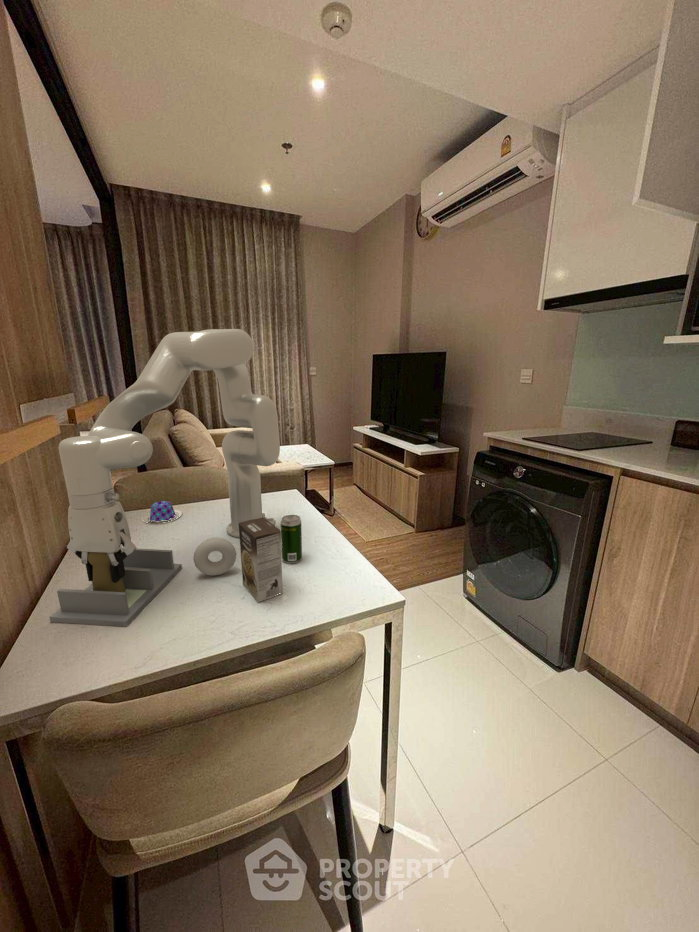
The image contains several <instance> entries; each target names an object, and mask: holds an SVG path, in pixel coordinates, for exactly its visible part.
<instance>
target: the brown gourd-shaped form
mask: <svg viewBox="0 0 699 932" xmlns="http://www.w3.org/2000/svg"><path fill="white" fill-rule="evenodd" d="M115 554H116V556H117V552H116V553H115ZM88 561H89V563H90V564H91V565H93V591H108V592H125V591H126V589H125V585H124V583H123V580H122V578H121V579H120V580H119V581H118V582H116V583H114V582H112V577H111V571H110V566H111V565H112V563H111V560H110V558H109V556H108V553H101V552H89V553H88Z"/></svg>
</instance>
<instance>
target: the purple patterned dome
mask: <svg viewBox="0 0 699 932" xmlns="http://www.w3.org/2000/svg"><path fill="white" fill-rule="evenodd" d="M172 504H173V503H171V502H170V501H168V500H160V501H156V502H154V503H152V504H151V506H150V518H149V521H150V520H155V521H161V520H169V519H170V518H173V519H174V517H176V516H174V515H176V514H175V512H178V513H179V517H177V518H176V519H174V520H172V519H170V520H171V521H168V522H172V521H175V520H177V519H179V518H180V517H181V516H183V515H182V514H183V513H182V512H183V511H181V510H178V509H174V507H173V505H172ZM155 521H154V522H155ZM142 522H144V523H147V524H149V523H148V522H145V521H144V520H143V519H142ZM162 522H163V521H162ZM168 522H167V523H168ZM164 523H166V522H163V523H162V524H164Z"/></svg>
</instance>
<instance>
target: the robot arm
mask: <svg viewBox="0 0 699 932" xmlns="http://www.w3.org/2000/svg"><path fill="white" fill-rule="evenodd" d="M253 342H254V341H253V339H252V337H251V336H250V334H249V333H247V332H246V331H245V330H243V329H241V328H225V329H224V328H223V329H221V328H218V329H217V328H214V329H210V328H209V329H204V330H203V329H202V330H199V331H177V332H176V331H174V332H171V333H168V334H167V335H164V336H163V338H162V339H161V341H160V342H159V343H158V345H157V346H156V348H155V350H154V352H153V353H152V355H151V357H150V358H149V360H148V361H147V363H146V364H145V366H144V368H143V370H142V371H141V373H140V375H139V376H138V378H137V380H136V381H135V382H133V384H132V385H130V386H129V387H128V388H126V389H125V390H123V392H121V393H120V394H119V395H118V396H116V397H115V398H114V399H112V401H110V402H109V403H108V404H107V405H106V407H105V408H104V409H103V410H102V412H100V414H99V416H98V417H97V418H96V420H95V422H94V424H93V425H92V427H91V429H90V430H89V433H88V434H87V435H79V436H72V437H67V438H64V439H62V440H61V441H60V442H59V444H58V452H59V457H60V458H59V459H60V463H61V467H62V471H63V478H64V482H65V487H66V492H67V496H68V497H67V498H68V502H69V506H68V509H67V510H68V511H67V525H68V532H69V533H68V534H69V538H70V539H69V542H68V544H67V545H66V549H68V550H69V551H70V552H72V553H73V554H75V556H76V557H78V558H79V559H80V560H81V564H82V565H85V569H86V573H87V578H88V582H92V581H93V565H91V564H90V563H89V561H88V553H89V552H101V553H108V556H109V558H110V560H111V563H112V565H111V566H110V571H111V577H112V582H114V583H116V582H118V581H119V580H120V579H121V578H122V577H124V576H125V568H124V562H123V560H124V559H125V558H126V557H127V556H128V555H129V554H130V553H132V552H133V551H134V550H136V548H137V546H136V544H135V543H134V542H133V541H132V538H131V537H132V535H131V531H130V527H129V523H128V519H127V517H126V516H127V515H126V513H125V510H124V508H123V506H122V504H121V502H120V501H118V500H119V499H120V494H119V493H116V492H115V489H114V485H113V484H114V483H113V479H112V473H111V471H112V470H120V469H131V468H136V467H140V466H141V465H144V464H145V463H147V462H148V461H149V460H150V458H151V457H152V455H153V450H154V448H153V443H152V442H151V440H150V439H149V438H148V437H147V436H146V435H144V434H142V433H139V432H137V431H132V429H133V428H134V426H135V425H136V424H137V423H138V422H140V421H141V420H142V419H143V418H145V417H147V416H148V415H150V414H153V413H156V412H157V411H161V410H163V409H165V408H166V407H169V406H171V405H172V404H174V403H175V401H176V400H177V398H178V396H179V394H180V392H181V391H182V388H183V387H184V385H185V383H186V382H187V379H188V378H189V376H190V374H191V372H193V371H213V372H214V374H215V376H216V378H217V380H218V381H217V382H218V386H219V393H220V400H221V401H220V403H221V409H222V415H223V418H224V420H225V422H226V423H227V425H230V426H232V427H233V426H234V427H237V428H247V429H252V431H250V430H244V429H242V430H240V429H237V430H232V431H230V432H228V433H226V434H225V435H224V437H223V439H222V443H221V449H222V455H223V459H224V462H225V466H226V471H227V472H226V473H227V481H228V483H227V484H228V497H229V498H228V499H229V511H230V523H229V524H228V525H227V526H226V533H227V534H228V535H229V536H232V537H234V538H239V539H240V536H239V524H238V523H240V522H244V521H248V520H252V519H258V518H262V517H264V518H265V519H266V520H268V521H269V522H270V523H272V524H273V525H274V526H276V525H277V522H276V520H275V518H273V517H267V516H266V513H265V512H263V505H262V503H263V502H262V487H261V486H262V485H261V479H262V478H261V473H260V469H259V467H270V466H273V465H275V464H276V462H277V461H278V459H279V457H280V454H281V453H280V451H281V443H280V432H279V431H280V429H279V418H278V417H279V415H278V411H277V407H276V405H275V403H274V401H273V400H272V399H271V398H270V397H268V396H266V395H262V394H254V393H253V392H252V387H251V379H250V374H249V371H248V369H247V367H246V366H245V364H246V363H247V362H249V361H250V360H251V358H252V356H253V354H254V350H255V349H254V343H253ZM258 466H259V467H258ZM122 548H125V550H124V551H123V549H122ZM116 552H117V555H118V556H116V554H115V553H116Z"/></svg>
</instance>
